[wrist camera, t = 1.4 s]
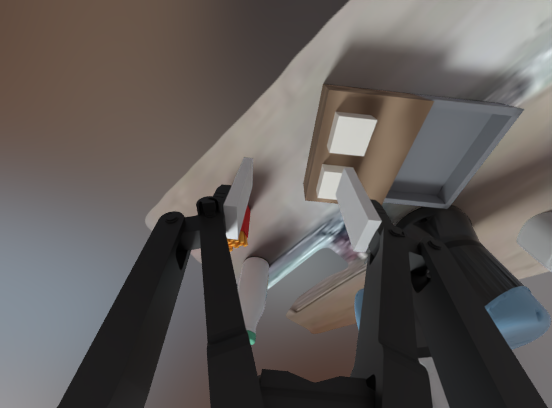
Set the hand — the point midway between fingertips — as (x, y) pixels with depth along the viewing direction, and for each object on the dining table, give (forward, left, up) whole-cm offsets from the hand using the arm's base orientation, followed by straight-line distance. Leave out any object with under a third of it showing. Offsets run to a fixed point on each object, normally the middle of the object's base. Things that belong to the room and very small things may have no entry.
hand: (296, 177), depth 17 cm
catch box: (-25, +4, -21) cm, 33 cm away
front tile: (-8, 0, -15) cm, 17 cm away
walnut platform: (-11, +4, -21) cm, 24 cm away
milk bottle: (+5, +42, -21) cm, 47 cm away
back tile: (-8, +8, -15) cm, 19 cm away
